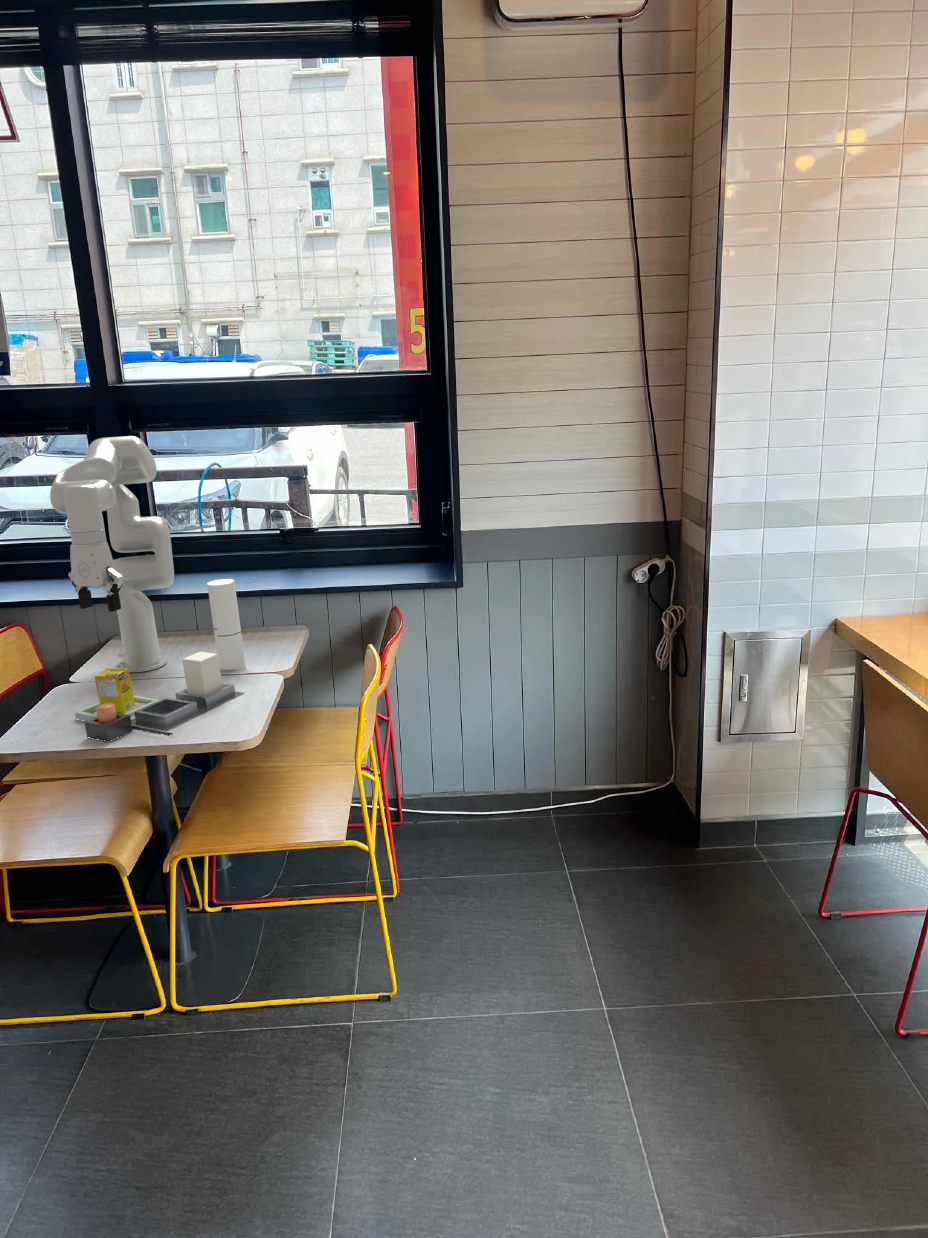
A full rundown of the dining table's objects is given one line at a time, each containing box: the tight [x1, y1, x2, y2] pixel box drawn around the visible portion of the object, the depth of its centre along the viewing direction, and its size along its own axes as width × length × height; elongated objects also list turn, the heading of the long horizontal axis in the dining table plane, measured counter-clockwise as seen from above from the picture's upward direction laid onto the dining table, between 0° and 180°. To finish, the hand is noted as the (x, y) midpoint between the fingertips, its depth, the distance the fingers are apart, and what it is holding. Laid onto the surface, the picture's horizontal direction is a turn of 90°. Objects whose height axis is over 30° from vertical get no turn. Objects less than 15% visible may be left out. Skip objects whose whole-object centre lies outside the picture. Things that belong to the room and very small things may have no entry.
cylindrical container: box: [206, 578, 247, 672], centre depth 245 cm, size 7×7×25 cm
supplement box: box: [94, 667, 136, 714], centre depth 219 cm, size 6×6×11 cm
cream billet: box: [182, 651, 223, 696], centre depth 222 cm, size 6×6×11 cm
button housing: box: [83, 713, 134, 743], centre depth 207 cm, size 7×7×4 cm
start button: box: [96, 703, 117, 723], centre depth 206 cm, size 4×4×4 cm
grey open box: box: [131, 682, 246, 737], centre depth 218 cm, size 14×26×4 cm, turn 152°
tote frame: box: [74, 694, 160, 721], centre depth 220 cm, size 14×14×2 cm
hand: (100, 608), depth 213 cm, fingers open, 9 cm apart
